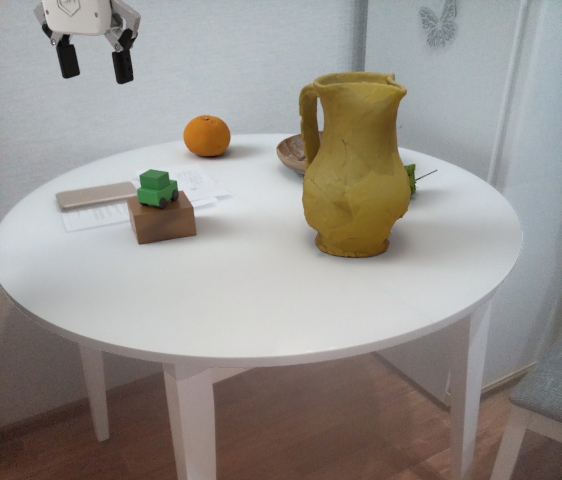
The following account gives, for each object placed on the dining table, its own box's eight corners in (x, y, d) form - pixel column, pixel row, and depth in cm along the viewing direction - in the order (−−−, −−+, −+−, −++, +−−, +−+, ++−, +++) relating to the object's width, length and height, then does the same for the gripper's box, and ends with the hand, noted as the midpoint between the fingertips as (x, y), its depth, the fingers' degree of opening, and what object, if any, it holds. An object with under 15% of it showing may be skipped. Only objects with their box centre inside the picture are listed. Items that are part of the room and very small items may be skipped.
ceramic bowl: (302, 146, 133) (302, 124, 130) (398, 159, 125) (401, 136, 122) (258, 179, 117) (257, 154, 113) (366, 196, 109) (368, 170, 106)
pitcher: (319, 270, 85) (328, 88, 70) (286, 227, 100) (288, 68, 85) (421, 258, 89) (450, 83, 74) (375, 218, 103) (391, 64, 89)
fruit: (209, 164, 124) (206, 126, 119) (176, 155, 129) (172, 118, 124) (240, 152, 130) (238, 115, 125) (208, 144, 135) (205, 108, 130)
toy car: (160, 210, 92) (156, 180, 89) (138, 206, 93) (133, 176, 90) (180, 198, 96) (176, 168, 93) (158, 194, 98) (154, 165, 94)
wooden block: (138, 244, 94) (133, 216, 90) (131, 225, 99) (125, 198, 96) (196, 234, 96) (193, 206, 93) (186, 217, 102) (182, 190, 99)
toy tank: (361, 174, 103) (407, 176, 96) (417, 150, 113) (462, 150, 107) (364, 213, 106) (409, 216, 100) (418, 186, 117) (462, 188, 110)
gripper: (-6, -71, 70) (33, 80, 81) (105, -72, 65) (131, 90, 75) (37, -72, 76) (69, 70, 86) (143, -73, 70) (163, 79, 81)
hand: (98, 79), depth 81 cm, fingers open, 9 cm apart
